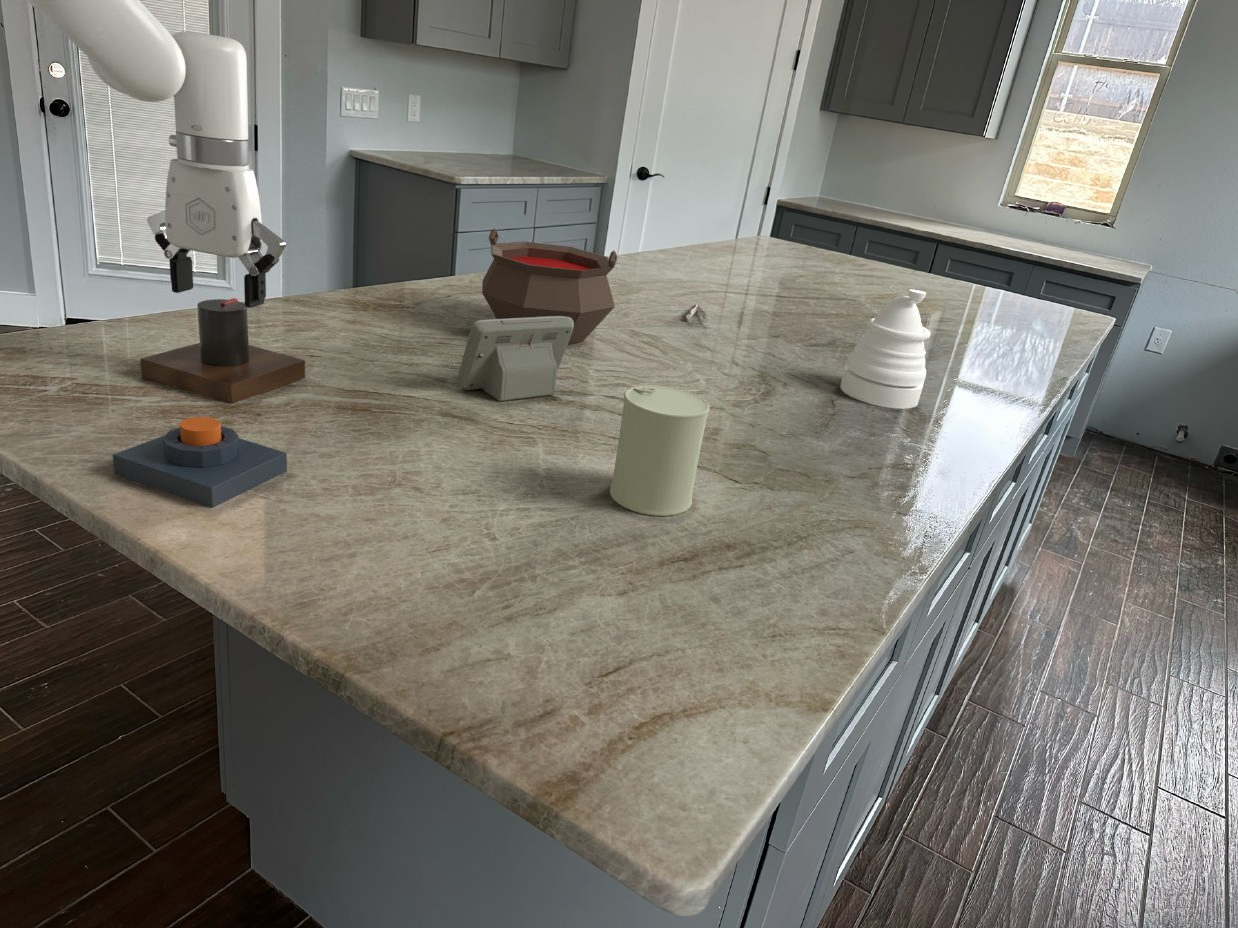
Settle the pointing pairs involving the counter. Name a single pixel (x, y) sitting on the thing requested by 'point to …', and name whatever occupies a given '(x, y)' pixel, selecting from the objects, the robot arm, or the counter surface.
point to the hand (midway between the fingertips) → (218, 298)
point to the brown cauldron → (549, 283)
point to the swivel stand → (223, 373)
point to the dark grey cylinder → (223, 332)
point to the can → (658, 449)
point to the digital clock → (515, 356)
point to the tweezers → (700, 313)
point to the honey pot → (890, 357)
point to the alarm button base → (201, 466)
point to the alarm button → (200, 431)
